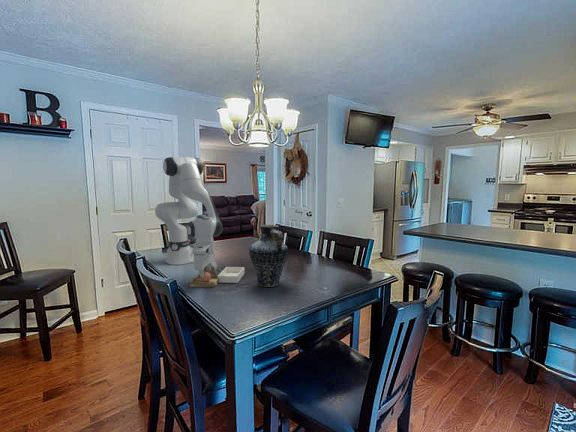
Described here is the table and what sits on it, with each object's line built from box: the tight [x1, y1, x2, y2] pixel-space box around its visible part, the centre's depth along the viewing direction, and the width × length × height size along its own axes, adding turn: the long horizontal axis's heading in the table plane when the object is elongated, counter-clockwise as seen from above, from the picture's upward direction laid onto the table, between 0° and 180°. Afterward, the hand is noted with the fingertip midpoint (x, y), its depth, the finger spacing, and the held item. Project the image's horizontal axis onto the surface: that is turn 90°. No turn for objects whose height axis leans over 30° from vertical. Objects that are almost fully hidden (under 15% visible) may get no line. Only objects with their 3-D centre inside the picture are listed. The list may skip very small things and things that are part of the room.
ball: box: [201, 272, 211, 282], centre depth 152 cm, size 5×5×5 cm
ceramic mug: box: [203, 260, 223, 275], centre depth 166 cm, size 11×8×8 cm
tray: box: [187, 274, 220, 289], centre depth 153 cm, size 13×13×2 cm
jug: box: [248, 224, 289, 288], centre depth 149 cm, size 21×19×30 cm
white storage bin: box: [217, 266, 245, 284], centre depth 161 cm, size 16×10×4 cm, turn 176°
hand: (205, 273), depth 152 cm, fingers open, 8 cm apart
